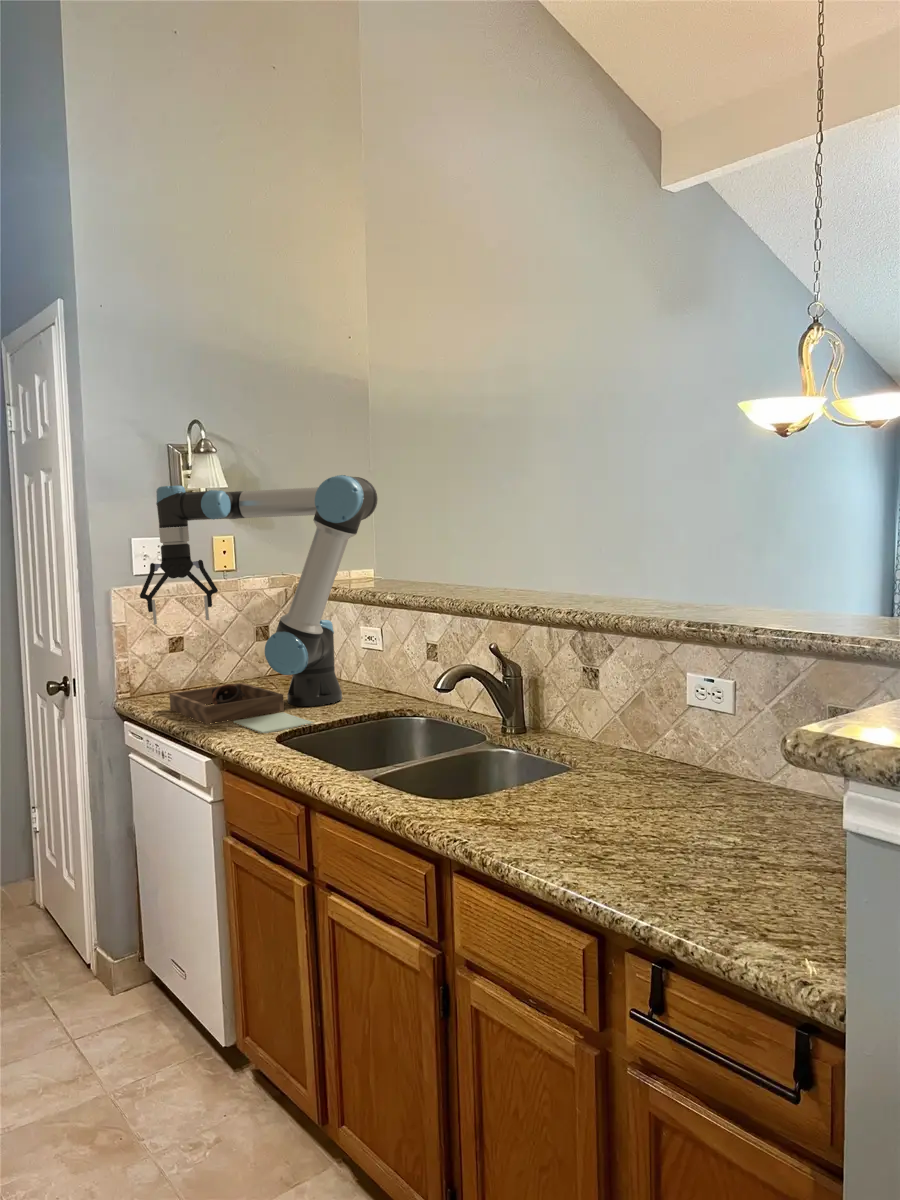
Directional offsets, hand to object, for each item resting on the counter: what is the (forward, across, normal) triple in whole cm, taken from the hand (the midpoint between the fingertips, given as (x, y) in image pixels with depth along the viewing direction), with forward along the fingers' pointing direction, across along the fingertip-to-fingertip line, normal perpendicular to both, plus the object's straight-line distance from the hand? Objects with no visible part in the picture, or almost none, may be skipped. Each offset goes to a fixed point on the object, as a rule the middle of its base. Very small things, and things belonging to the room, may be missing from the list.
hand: (181, 621), depth 244 cm
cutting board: (+25, -20, +28) cm, 42 cm away
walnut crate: (+24, -10, +7) cm, 27 cm away
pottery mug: (+25, -10, +7) cm, 27 cm away
